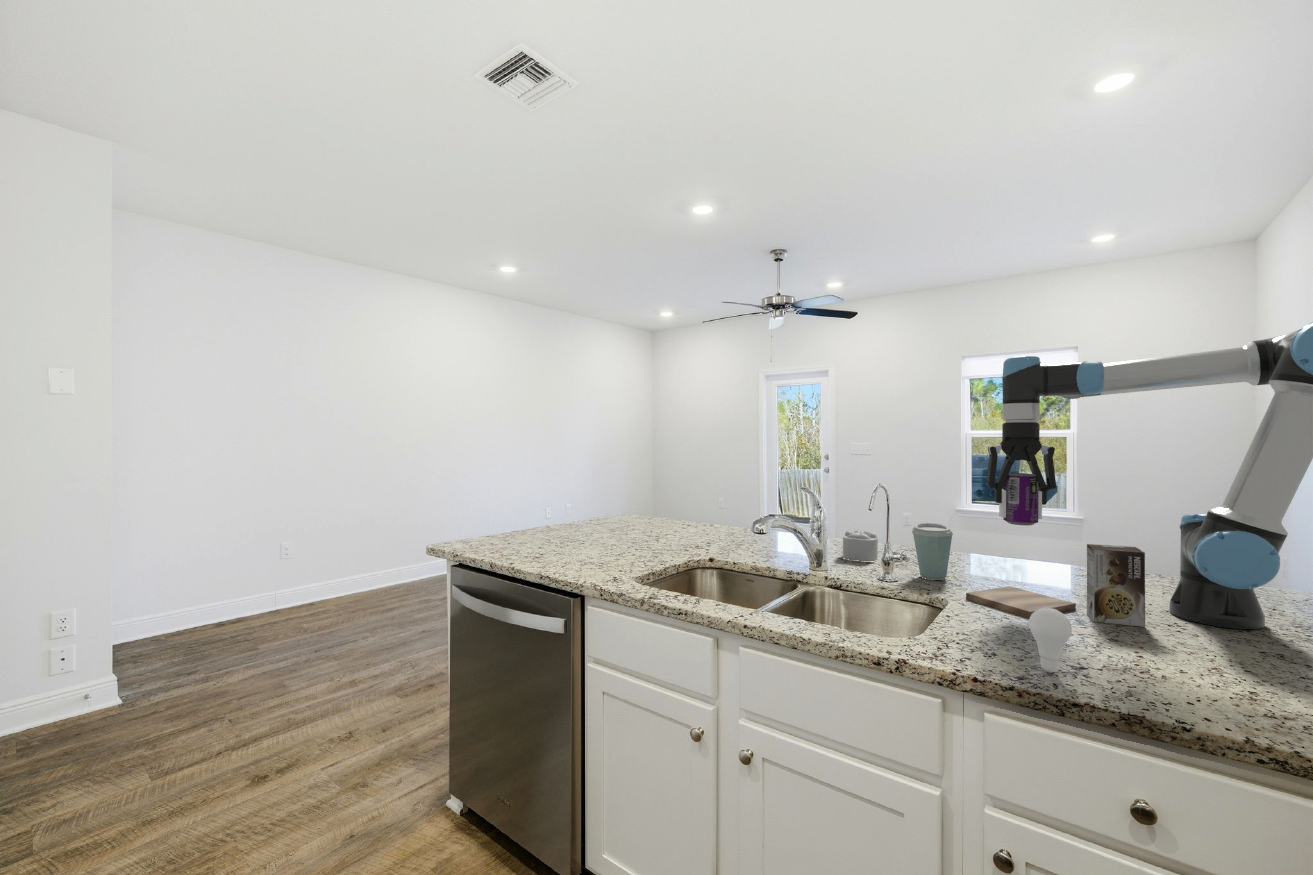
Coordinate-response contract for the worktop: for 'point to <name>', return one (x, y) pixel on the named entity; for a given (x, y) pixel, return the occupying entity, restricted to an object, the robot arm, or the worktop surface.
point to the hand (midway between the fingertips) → (1020, 517)
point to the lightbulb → (1050, 635)
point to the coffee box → (1116, 584)
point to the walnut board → (1018, 600)
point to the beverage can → (1021, 499)
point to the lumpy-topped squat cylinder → (860, 546)
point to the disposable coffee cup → (932, 549)
